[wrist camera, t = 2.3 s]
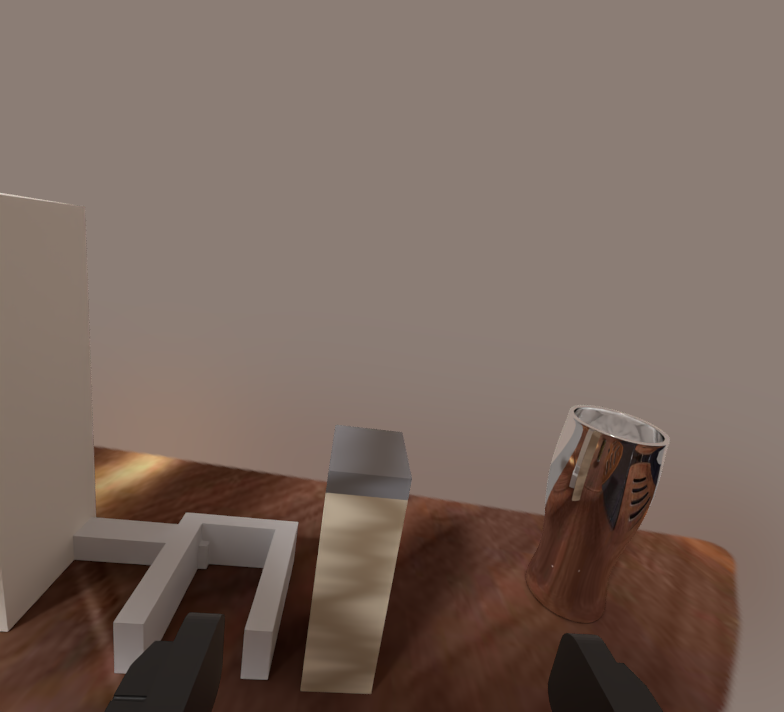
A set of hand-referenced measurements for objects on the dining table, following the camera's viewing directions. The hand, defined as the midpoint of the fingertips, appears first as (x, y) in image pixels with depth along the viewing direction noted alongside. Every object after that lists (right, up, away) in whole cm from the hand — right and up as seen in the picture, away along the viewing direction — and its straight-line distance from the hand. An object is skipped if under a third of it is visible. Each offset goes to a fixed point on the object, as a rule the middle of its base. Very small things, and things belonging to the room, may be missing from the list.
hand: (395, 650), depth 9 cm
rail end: (-3, -11, +16) cm, 20 cm away
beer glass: (+14, -12, +23) cm, 30 cm away
